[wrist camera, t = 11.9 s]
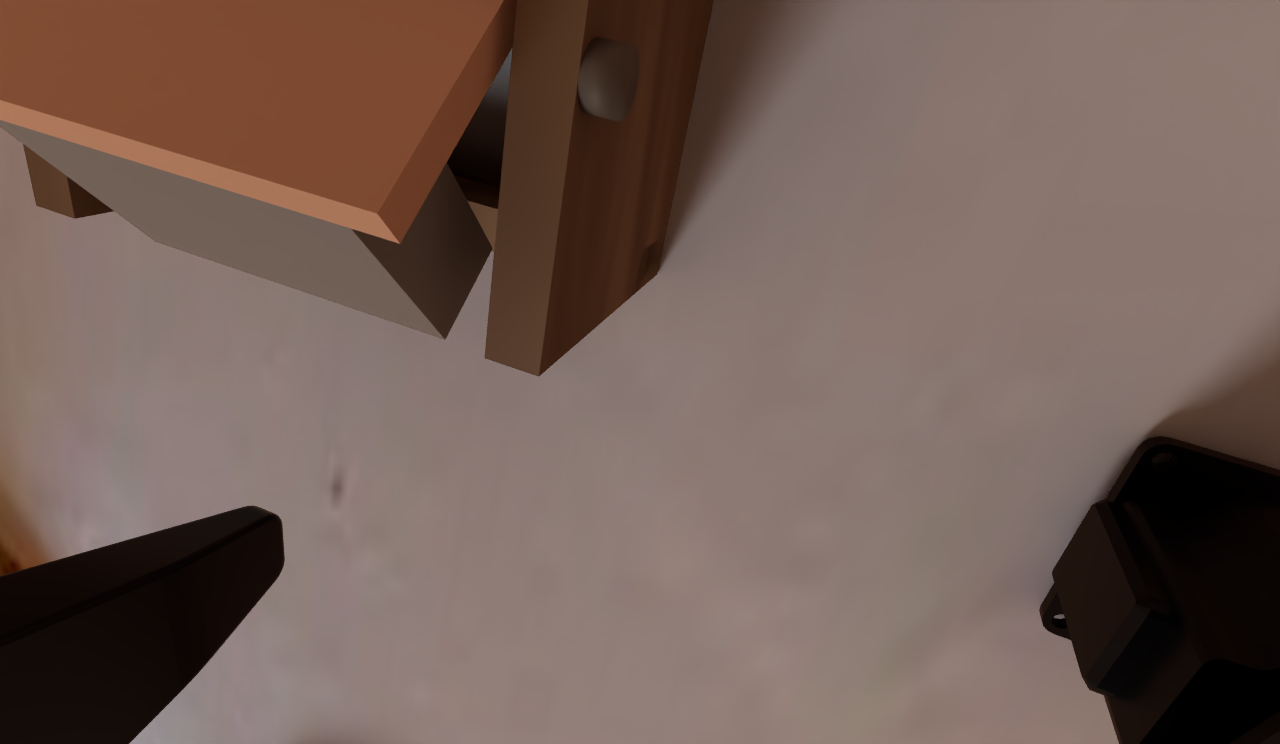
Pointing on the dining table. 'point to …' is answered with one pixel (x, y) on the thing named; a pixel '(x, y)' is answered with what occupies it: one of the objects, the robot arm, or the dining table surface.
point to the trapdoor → (272, 133)
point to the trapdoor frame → (562, 167)
